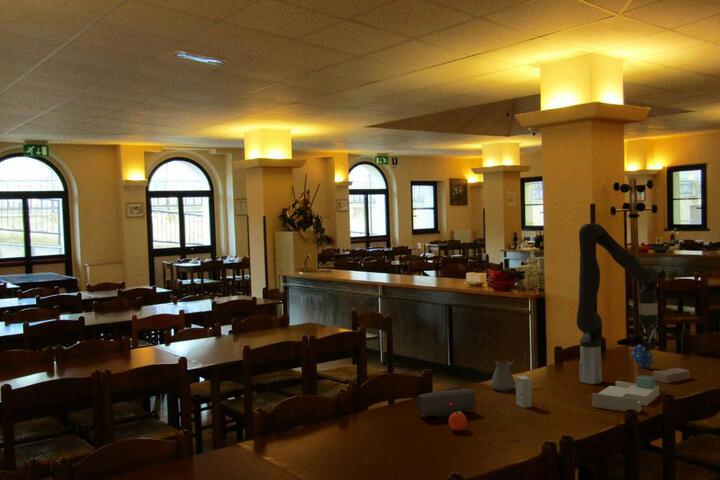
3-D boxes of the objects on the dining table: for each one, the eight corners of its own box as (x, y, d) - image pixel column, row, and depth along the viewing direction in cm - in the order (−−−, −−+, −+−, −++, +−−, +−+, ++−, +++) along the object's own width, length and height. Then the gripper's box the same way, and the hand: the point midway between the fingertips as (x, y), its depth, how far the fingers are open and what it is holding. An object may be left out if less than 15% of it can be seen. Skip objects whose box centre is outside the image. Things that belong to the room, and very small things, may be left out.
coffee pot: (504, 393, 297) (502, 360, 296) (485, 389, 306) (484, 357, 306) (535, 385, 309) (534, 353, 309) (516, 381, 318) (515, 350, 318)
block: (636, 387, 283) (636, 377, 283) (640, 384, 288) (640, 375, 288) (651, 388, 280) (650, 379, 279) (655, 385, 284) (654, 376, 284)
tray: (592, 406, 271) (591, 393, 271) (616, 389, 295) (616, 377, 295) (637, 413, 260) (637, 399, 259) (659, 395, 284) (658, 382, 284)
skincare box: (515, 404, 279) (514, 376, 279) (524, 403, 281) (523, 375, 280) (523, 408, 273) (522, 379, 273) (532, 406, 275) (531, 378, 274)
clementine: (456, 425, 254) (455, 407, 254) (472, 428, 250) (471, 410, 250) (445, 431, 248) (444, 412, 248) (461, 434, 244) (460, 415, 243)
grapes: (627, 367, 335) (626, 344, 335) (634, 365, 339) (633, 342, 339) (648, 371, 326) (648, 347, 326) (656, 369, 330) (655, 345, 330)
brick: (675, 375, 316) (675, 366, 316) (691, 379, 309) (691, 369, 309) (652, 381, 309) (651, 371, 309) (667, 384, 301) (667, 374, 301)
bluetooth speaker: (424, 421, 261) (423, 396, 261) (416, 415, 270) (415, 391, 270) (477, 414, 267) (476, 390, 267) (467, 408, 276) (466, 385, 276)
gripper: (644, 310, 297) (646, 346, 298) (634, 314, 286) (636, 351, 286) (661, 311, 293) (663, 347, 293) (652, 315, 282) (654, 353, 282)
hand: (650, 349), depth 290 cm, fingers open, 8 cm apart
